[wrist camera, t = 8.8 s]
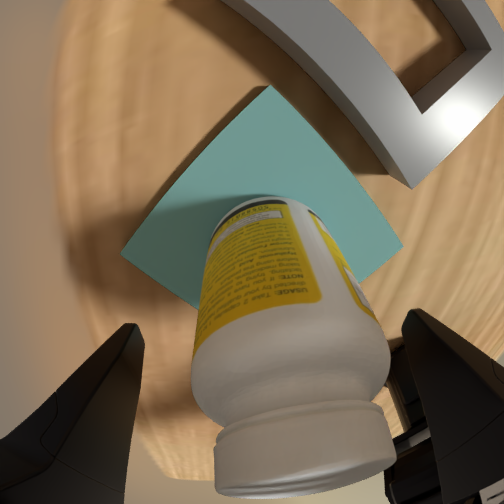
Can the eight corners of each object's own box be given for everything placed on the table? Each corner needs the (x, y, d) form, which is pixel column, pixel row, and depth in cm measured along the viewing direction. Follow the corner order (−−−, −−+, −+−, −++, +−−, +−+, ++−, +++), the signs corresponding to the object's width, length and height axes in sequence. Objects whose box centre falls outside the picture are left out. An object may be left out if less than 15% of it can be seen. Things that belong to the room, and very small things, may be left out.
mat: (399, 241, 13) (403, 246, 13) (264, 344, 16) (264, 350, 16) (269, 85, 9) (270, 85, 9) (122, 248, 13) (119, 254, 12)
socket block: (498, 69, 7) (522, 72, 6) (389, 175, 11) (412, 189, 10) (375, -84, 3) (391, -98, 1) (213, -5, 7) (208, -24, 5)
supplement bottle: (195, 279, 13) (163, 494, 5) (234, 174, 11) (221, 454, 2) (295, 307, 14) (333, 495, 6) (348, 220, 12) (473, 422, 3)
